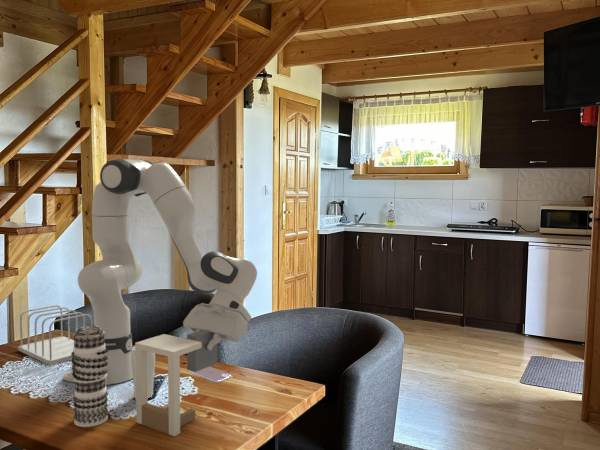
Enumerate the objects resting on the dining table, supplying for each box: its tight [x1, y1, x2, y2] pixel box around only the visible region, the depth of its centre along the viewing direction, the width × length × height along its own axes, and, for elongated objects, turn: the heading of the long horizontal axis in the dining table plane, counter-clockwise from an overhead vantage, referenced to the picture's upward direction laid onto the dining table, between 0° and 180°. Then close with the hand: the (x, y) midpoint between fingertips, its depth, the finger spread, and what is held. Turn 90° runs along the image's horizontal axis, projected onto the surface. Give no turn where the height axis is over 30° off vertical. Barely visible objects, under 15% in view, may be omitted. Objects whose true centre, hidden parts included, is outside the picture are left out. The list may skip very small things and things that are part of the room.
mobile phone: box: [188, 366, 233, 383], centre depth 177 cm, size 8×1×15 cm
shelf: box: [134, 333, 202, 437], centre depth 141 cm, size 12×14×22 cm
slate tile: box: [186, 330, 219, 372], centre depth 150 cm, size 9×3×10 cm, turn 147°
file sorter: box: [17, 304, 94, 366], centre depth 198 cm, size 25×17×16 cm
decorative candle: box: [70, 325, 109, 428], centre depth 141 cm, size 9×9×25 cm
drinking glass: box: [131, 345, 156, 400], centre depth 157 cm, size 7×7×15 cm
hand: (201, 347), depth 150 cm, fingers closed on slate tile, 3 cm apart
